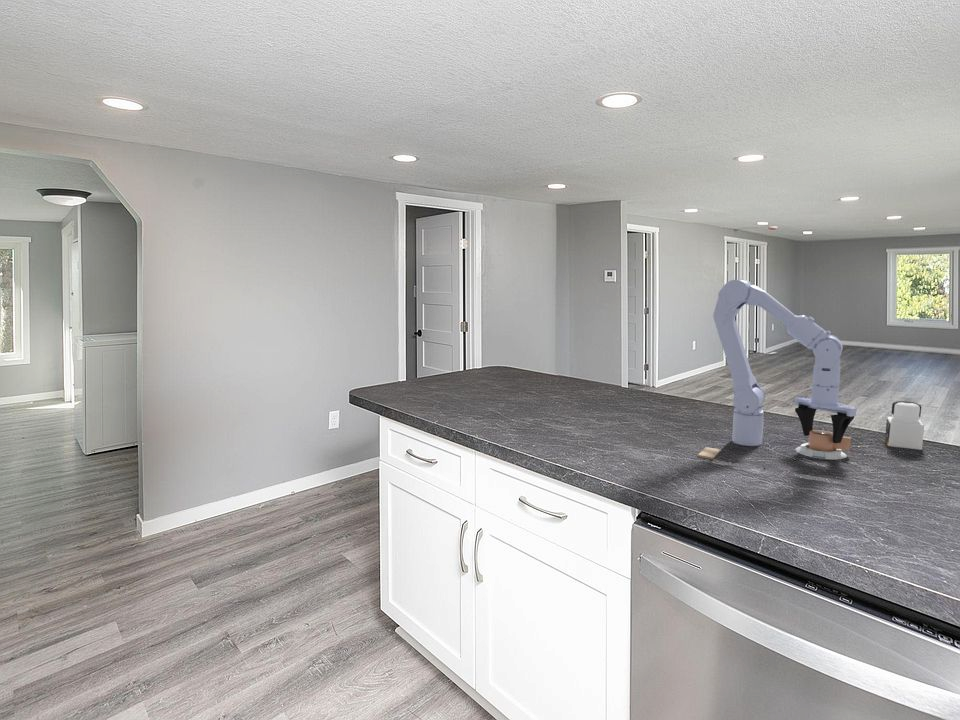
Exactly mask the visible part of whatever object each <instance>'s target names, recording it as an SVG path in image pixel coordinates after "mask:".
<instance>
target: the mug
mask: <svg viewBox="0 0 960 720" xmlns="http://www.w3.org/2000/svg"><path fill="white" fill-rule="evenodd" d="M851 440H852V437H850V436H844V435H843V438H842V441H841V443H833V431H828V430H823V429H821V430H820V429H812V430H811V431H809V435H808V442H807V443H808V448H809V449H812V450H816V451H823V452H832V451H834V448H835V449H841V451H842V450H845V451H850V450H851Z"/></svg>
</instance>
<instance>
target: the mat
mask: <svg viewBox="0 0 960 720" xmlns="http://www.w3.org/2000/svg"><path fill="white" fill-rule="evenodd" d="M721 450H722V448H721V449H720V448H716V447H715V448H714V447H713V448H712V447H708V446H705V448H703V449H702V450H701V451H700V452H699V453H698V454H697V458H703V459H707V460H708V459H709V460H716V461H719V459H717V458H715V457H716V456H717V455H718V454H719V453H720V452H721ZM721 461H722V462H725V460H724V459H723V460H722V459H720V462H721ZM726 462H727V463H731V461H729V460H726Z"/></svg>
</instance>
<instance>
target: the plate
mask: <svg viewBox="0 0 960 720" xmlns="http://www.w3.org/2000/svg"><path fill="white" fill-rule="evenodd" d="M808 443H809V442H805V443H802V444H800V446H797V447H796V448H795V451H796V453H799V454H800V455H802V456H807V457H810V458H814V459H815V458H816V459H821V460H842V459H846V458H847V454H846V453H845V452H843V451H842V449H835V448H834V451H832V452H823V451H816V450H812V449H809V448H808Z"/></svg>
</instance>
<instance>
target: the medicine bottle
mask: <svg viewBox="0 0 960 720" xmlns="http://www.w3.org/2000/svg"><path fill="white" fill-rule="evenodd" d="M921 413H922V406H921V404H920V403H919V404H918V403H917V402H914V401H907V400H898V401H894V402H892V405H891V413H890V414H891V416H887V417H886V423H885V424H886V425H885V436H884V443H886V445H887V447H894V448H903V449H910V450H911V449H912V450H918V451H919V450H922V449H923V441H924V430H925V425H924V424H923V422H922V421H921V415H922V414H921Z"/></svg>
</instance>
